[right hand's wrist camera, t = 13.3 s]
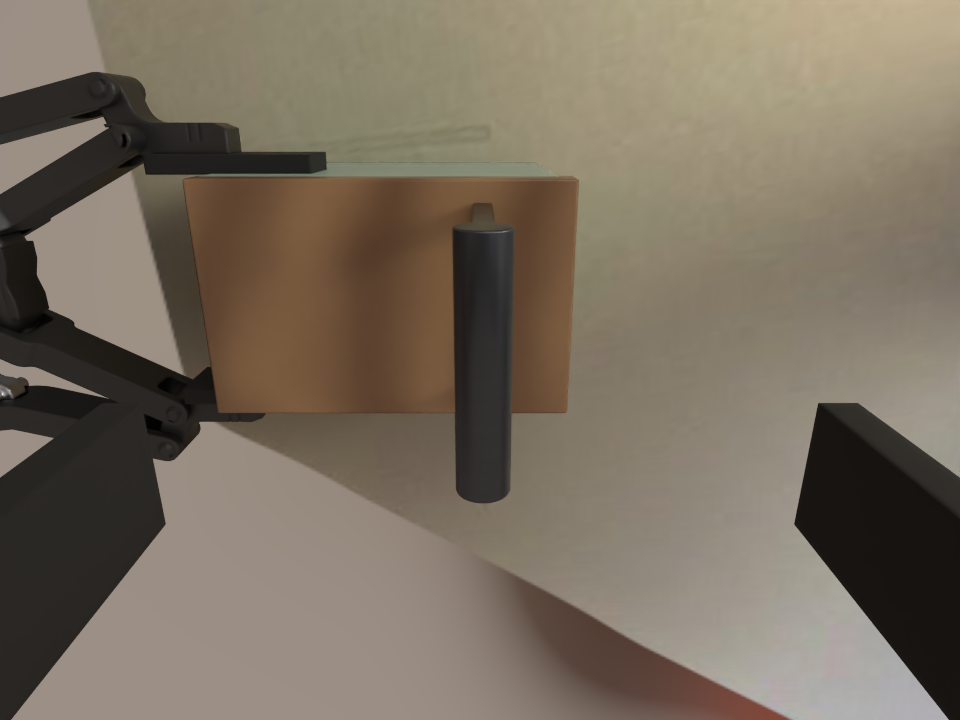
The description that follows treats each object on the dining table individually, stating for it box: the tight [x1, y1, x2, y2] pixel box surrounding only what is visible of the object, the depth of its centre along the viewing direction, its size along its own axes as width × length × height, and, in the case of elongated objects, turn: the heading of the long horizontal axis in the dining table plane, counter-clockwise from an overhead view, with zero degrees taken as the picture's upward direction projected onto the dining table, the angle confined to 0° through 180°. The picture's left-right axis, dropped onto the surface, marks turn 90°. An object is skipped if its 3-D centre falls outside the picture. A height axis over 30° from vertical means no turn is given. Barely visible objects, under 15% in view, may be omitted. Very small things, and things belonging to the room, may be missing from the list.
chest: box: [202, 163, 557, 176], centre depth 30 cm, size 14×9×10 cm
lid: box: [183, 176, 579, 503], centre depth 21 cm, size 14×9×9 cm, turn 90°
